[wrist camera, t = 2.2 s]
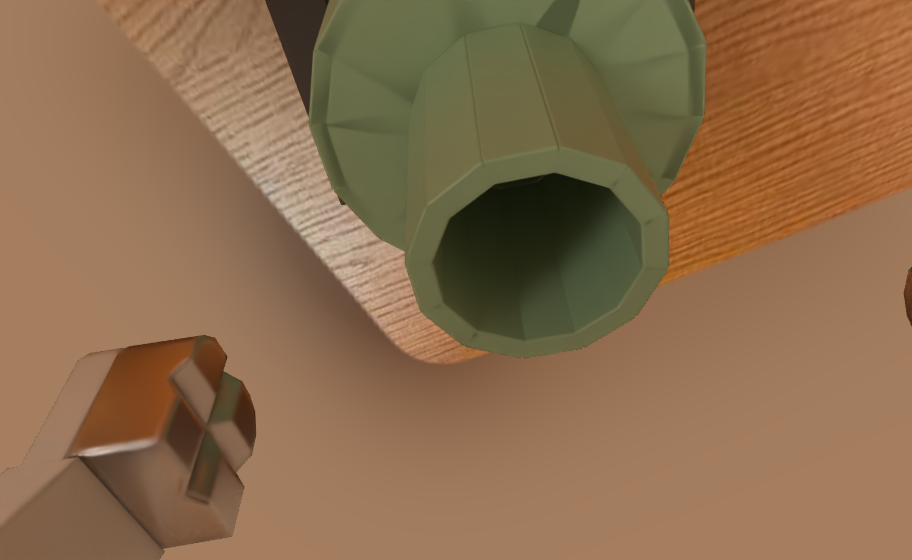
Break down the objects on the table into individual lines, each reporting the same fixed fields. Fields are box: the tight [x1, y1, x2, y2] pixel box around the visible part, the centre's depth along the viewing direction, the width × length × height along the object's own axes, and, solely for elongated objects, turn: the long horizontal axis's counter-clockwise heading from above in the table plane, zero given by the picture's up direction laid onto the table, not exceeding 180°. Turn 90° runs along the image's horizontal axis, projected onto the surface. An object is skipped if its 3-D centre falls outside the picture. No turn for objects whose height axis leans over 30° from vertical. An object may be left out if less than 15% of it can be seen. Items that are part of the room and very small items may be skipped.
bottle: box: [309, 0, 707, 358], centre depth 15 cm, size 7×7×17 cm
